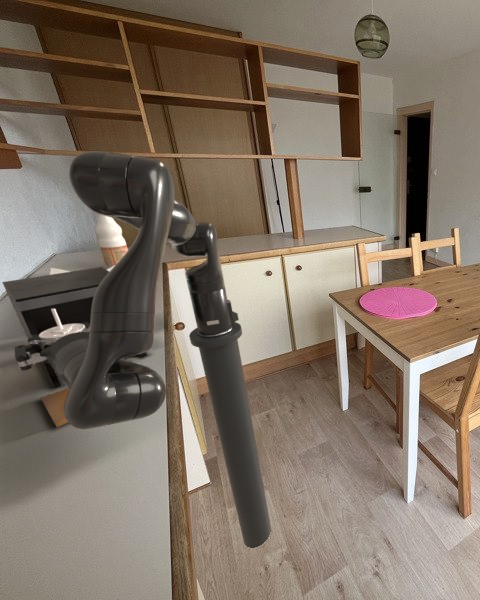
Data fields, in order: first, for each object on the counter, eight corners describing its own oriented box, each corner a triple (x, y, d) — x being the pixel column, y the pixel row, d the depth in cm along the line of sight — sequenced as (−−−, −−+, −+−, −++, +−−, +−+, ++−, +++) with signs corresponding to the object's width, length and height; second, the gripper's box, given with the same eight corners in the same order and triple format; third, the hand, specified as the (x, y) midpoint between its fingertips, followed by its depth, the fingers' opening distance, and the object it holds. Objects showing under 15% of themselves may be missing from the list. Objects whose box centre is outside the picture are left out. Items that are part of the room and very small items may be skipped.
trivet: (116, 374, 74) (114, 371, 74) (135, 394, 68) (133, 390, 67) (42, 401, 65) (40, 397, 64) (56, 427, 58) (54, 423, 58)
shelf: (124, 336, 91) (101, 266, 83) (147, 356, 82) (124, 279, 74) (38, 362, 78) (2, 282, 70) (55, 388, 69) (15, 299, 61)
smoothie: (93, 360, 68) (70, 301, 63) (106, 369, 65) (83, 307, 60) (51, 375, 63) (23, 311, 58) (63, 385, 60) (34, 319, 55)
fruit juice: (104, 273, 143) (83, 211, 133) (113, 268, 151) (94, 208, 141) (129, 272, 147) (110, 211, 136) (136, 267, 155) (120, 208, 144)
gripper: (131, 325, 57) (102, 304, 66) (12, 359, 46) (-4, 328, 55) (142, 360, 60) (113, 336, 69) (32, 400, 49) (14, 364, 58)
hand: (61, 332), depth 62 cm, fingers closed on smoothie, 6 cm apart
